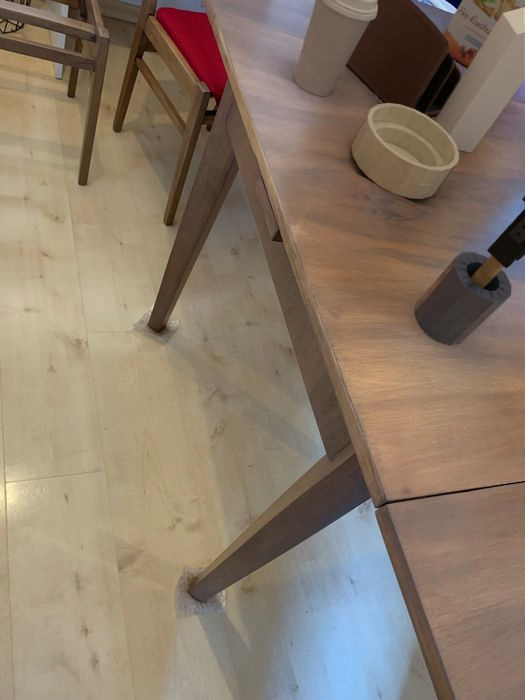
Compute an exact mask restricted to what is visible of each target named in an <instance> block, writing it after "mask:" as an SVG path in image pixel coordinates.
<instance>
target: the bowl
mask: <svg viewBox="0 0 525 700" xmlns="http://www.w3.org/2000/svg"><path fill="white" fill-rule="evenodd" d="M459 151H460V150H458V148H457V145H456V143H455V142H454V140H453V139H452V137H451V136H450V135H449V133H447V132H446V131H445V130H444V129H443V128H442V127H441V126H440V125H439V124H438V123H437V122H435V119H432V118H431V117H428V116H427V115H425V114H423V113H421V112H419V111H417V110H415V109H413V108H410V107H407V106H404V105H400V104H393V103H384V102H383V103H379V104H375V105H374V106H372V107H371V108H370V109H369V111H368V113H367V114H366V116H365V119H364V120H363V123H362V124H361V126H360V128H359V130H358V131H357V134H356V136H355V138H354V139H353V142H352V144H351V152H352V153H351V154H352V157H353V159H354V160H355V163H356V164H357V167H358V168H359V169H360V170H361V172H363V174H364V175H365V176H366V177H367V178H368V179H369V180H371V181H372V182H373V183H375V184H377V185H378V186H379V187H380V188H382V189H384V190H386V191H388V192H390V193H392V194H394V195H397V196H401V197H404V198H407V199H415V200H417V199H418V200H419V199H420V200H423V199H426V198H427V199H428V198H430V197H433V196H434V195H435V194H436V193H437V192H438V191H439V190H440V188H441V187H442V185H443V184H444V183H445V181H446V180H447V179H448V177H449V175H450V174H451V173H452V172H453V170H454V169H455V167H456V166H457V165H458V163H459V159H460V152H459Z"/></svg>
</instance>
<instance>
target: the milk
mask: <svg viewBox="0 0 525 700" xmlns="http://www.w3.org/2000/svg"><path fill="white" fill-rule="evenodd" d="M523 83H525V7H523V8H520V9H516V10H512V11H508V12H505V13H503V14H502V15H501V17H500V19H499V20H498V22H497V23H496V25H495V26H494V28H493V30H492V31H491V33H490V34H489V36H488V37H487V39H486V41H485V42H484V44H483V45H482V47H481V49H480V50H479V52H478V53H477V55H476V56H475V58H474V60H473V61H472V63H471V64H470V66H469V67H467V69H466V71H465V72H464V74H463V76H461V80H460V82H459V83H458V85H457V86H456V88H455V90H454V91H453V93H452V94H451V96H450V97H449V99H448V101H447V102H446V104H445V105H444V107H443V108H442V110H441V112H440V113H439V115H436V118H435V119H434V121H435V122H437V123H438V124H439V125H440V126H441V127H442V128H443V129H444V130H445V131H446V132H447V133H449V135H450V136H451V137H452V139H453V140H454V142H455V143H456V145H457V148H458V151H460V152H464V153H469V154H472V153H473V152H474V150H475V149H476V147H477V146H478V145H479V143H480V142H481V141H482V139H483V138H484V136H486V134H487V133H488V131H489V130H490V128H491V127H492V126H493V125H494V123H495V121H496V120H497V119H498V117H499V116H500V115H501V114H502V112H503V111H504V109H505V108H506V107H507V105H508V104H509V102H510V101H511V99H513V96H515V94H516V93H517V92H518V90H519V88H520V87H521V86H522V85H523Z"/></svg>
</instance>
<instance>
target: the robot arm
mask: <svg viewBox="0 0 525 700" xmlns="http://www.w3.org/2000/svg"><path fill="white" fill-rule="evenodd" d="M521 200H522V202H524V206H525V195H524V196H523V197H522V199H521ZM486 252H487V253H489V254H490V256H491V255H492V256H493V257H494V258H495V259H496V260H497V261H498V262H499V263H500V264H502V265H503V266H504V269H508V268H509V267H511V266H512V265H513V263H515V262H516V261H517V262H519V260H521V259H522V258H523V257H524V256H525V208H524V209H523V210H522V211H521V212H519V214H518V215H517V216H516V217H515V218H514V219H513V221H512V222H511V223H510V224H509V225H508V226H507V227H506V228H505V230H504V231H502V233H500V235H498V237H497V238H496V239H495V241H493V242H492V244H491V245H490V246H489V247H488V248H487V249H486Z"/></svg>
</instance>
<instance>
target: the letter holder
mask: <svg viewBox="0 0 525 700" xmlns="http://www.w3.org/2000/svg"><path fill="white" fill-rule="evenodd" d="M377 5H378V11H377V16H376V18H375V19H373V20H371V21H370V22H369V24H368V26H367V28H366V29H365V31H364V33H363V35H362V37H361V38H360V40H359V42H358V44H357V46H356V47H355V49H354V51H353V53H352V55H351V56H350V58H349V60H348V62H347V64H346V66H347V67H348V68H350V69H351V70H352V72H353V73H355V74H356V75H357V77H358V78H360V80H361V81H362V82H363V83H364V84H365V85H366V86H367V87H368V88H369V89H370V90H371V91H372V92H373V93H374V94H375V95H376V96H377V97H378V98H379V99H380V100H381V101H382V102H383V104H384V103H393V104H400V105H404V106H407V107H410V108H413V109H415V110H417V111H419V112H421V113H423V114H425V115H427V116H428V117H430V118H431V117H437V116H438V115H439V113H440V112H441V110H442V108H443V107H444V105H445V104H446V102H447V101H448V99H449V97H450V96H451V94H452V93H453V91H454V90H455V88H456V86H457V85H458V83H459V82H460V80H461V78H462V71H461V69H460V68H459V67H458V65H457V63H456V62H455V58H453V57H452V55H451V54H450V52H449V43H448V41H447V39H446V38H445V36H444V35H443V33H442V31H441V30H440V29H439V28H438V26H437V25H436V24H435V23H434V21H432V20H431V18H430V17H429V16H428V15H427V14H426V13H425V12H424V11H423V10H422V9H421V8H420V7H419V6H418V5H417V4H416V3H415V2H413V0H378V1H377Z"/></svg>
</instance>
